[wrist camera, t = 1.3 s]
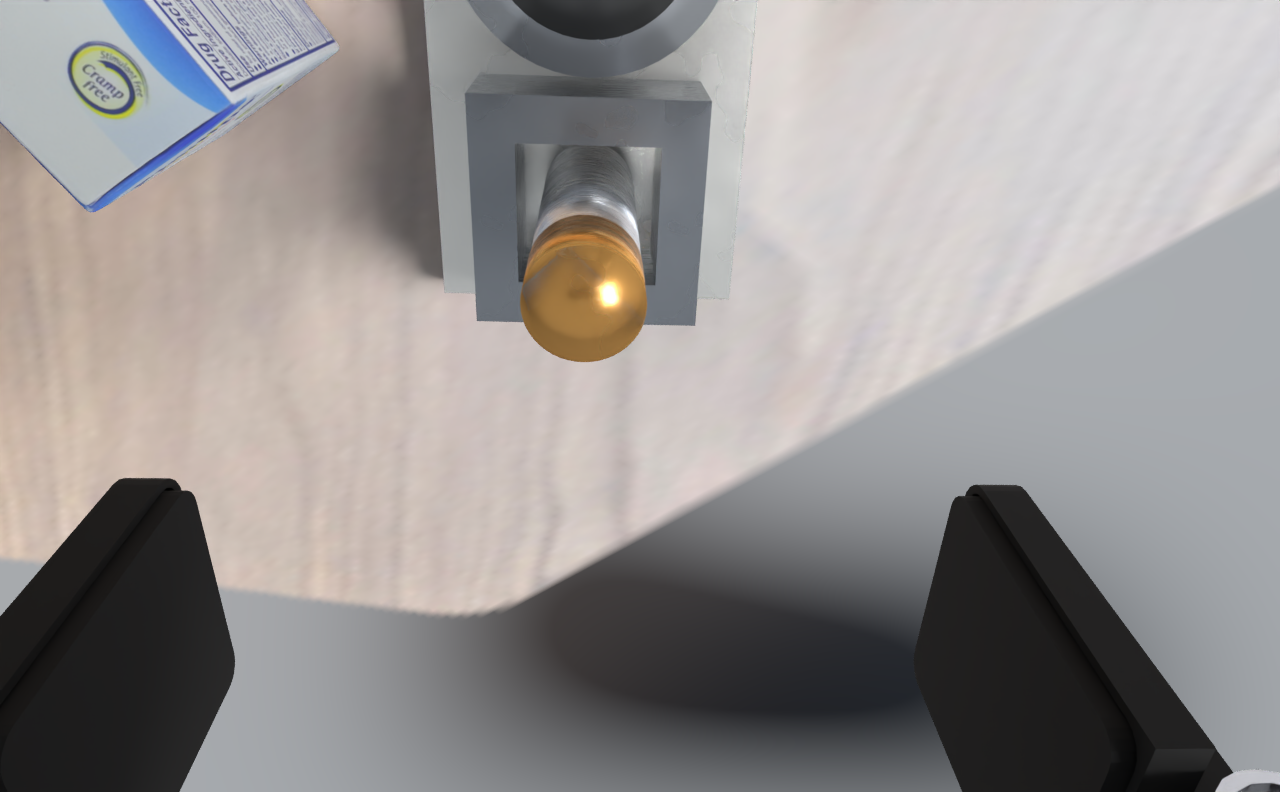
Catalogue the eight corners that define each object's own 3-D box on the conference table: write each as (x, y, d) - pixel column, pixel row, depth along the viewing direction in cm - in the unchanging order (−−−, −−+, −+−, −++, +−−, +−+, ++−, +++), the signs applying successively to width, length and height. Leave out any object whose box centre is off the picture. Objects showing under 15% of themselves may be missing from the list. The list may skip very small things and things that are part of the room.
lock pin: (544, 140, 26) (518, 243, 18) (635, 143, 26) (649, 246, 18) (545, 228, 27) (521, 361, 19) (632, 230, 27) (644, 363, 19)
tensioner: (413, -250, 22) (376, -281, 18) (773, -230, 22) (805, -257, 19) (449, 280, 29) (428, 332, 25) (725, 287, 29) (742, 339, 26)
